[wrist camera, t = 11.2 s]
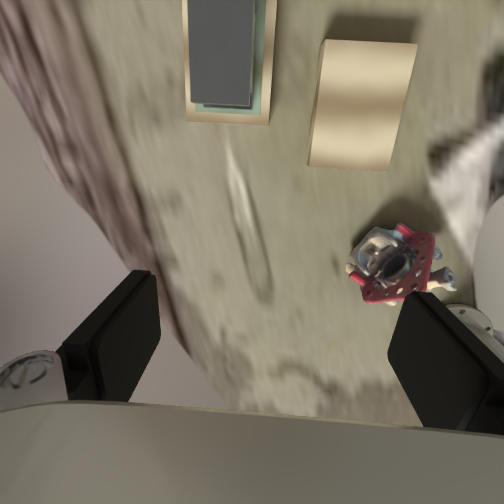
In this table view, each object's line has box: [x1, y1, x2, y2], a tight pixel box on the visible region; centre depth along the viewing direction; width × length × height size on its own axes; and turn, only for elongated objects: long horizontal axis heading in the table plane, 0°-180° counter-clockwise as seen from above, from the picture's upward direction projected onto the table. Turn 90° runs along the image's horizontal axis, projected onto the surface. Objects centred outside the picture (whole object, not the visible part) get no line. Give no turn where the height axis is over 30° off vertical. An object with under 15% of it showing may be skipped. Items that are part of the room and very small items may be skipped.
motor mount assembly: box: [346, 223, 457, 306], centre depth 36 cm, size 11×11×12 cm
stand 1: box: [182, 0, 277, 126], centre depth 29 cm, size 12×9×3 cm
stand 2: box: [306, 39, 418, 171], centre depth 31 cm, size 12×9×3 cm
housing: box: [187, 0, 257, 110], centre depth 25 cm, size 9×5×7 cm, turn 177°
